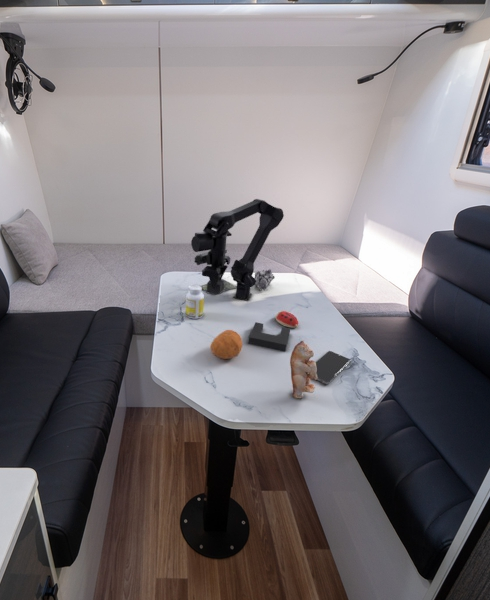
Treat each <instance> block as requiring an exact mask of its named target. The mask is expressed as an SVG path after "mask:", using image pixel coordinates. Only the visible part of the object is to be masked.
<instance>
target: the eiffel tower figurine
mask: <svg viewBox="0 0 490 600" xmlns="http://www.w3.org/2000/svg"><path fill="white" fill-rule="evenodd" d="M221 280H224V284H223V290H222V292H225V291H229V290H233V289H236V287H237V285H236V284H233V283H231V282H229V281H227V280H225V279H223V277H222V278H221ZM200 286H201V287H202V291H203V290H204V291H206V292H207V283H206V284H202V285H200ZM222 292H221V293H222ZM211 294H212V295H215V294H214V293H211Z"/></svg>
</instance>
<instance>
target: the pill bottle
mask: <svg viewBox="0 0 490 600" xmlns="http://www.w3.org/2000/svg"><path fill="white" fill-rule="evenodd" d="M201 286H202V285H199V284H191V285H189V286H188V292H187V293H186V295H185V315H186V317H187V318H189V319H194V320H195V319H196V320H197V319H200V318H202V317H203V316H204V302H205V301H204V300H205V295H204V293H203V292H202V291H203V289H202V287H201Z"/></svg>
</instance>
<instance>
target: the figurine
mask: <svg viewBox="0 0 490 600" xmlns="http://www.w3.org/2000/svg"><path fill="white" fill-rule="evenodd" d="M314 354H315V351H313V350H311V348H310V346H309V345H308V344H306V343H305V341H304V340H301V341H299V342H298V343H297V344H295V345H294V347H293V350H292V352H291V355H290V358H289V359H290V360H289V365H290V378H291V379H290V380H291V384H292V396H293V398H295V399H302V398H304V393H310V394H313V393H314V392H315V389H316V385H315V384H313V383H312V382H311V380H315V381H317V380H316V379H317V374H316V372H317V367H316V363H315V362H316V361H314V360H311V358H313V357H314V356H315V355H314Z"/></svg>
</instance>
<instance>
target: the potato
mask: <svg viewBox="0 0 490 600" xmlns="http://www.w3.org/2000/svg"><path fill="white" fill-rule="evenodd" d="M242 348H243V340H242V336H241V334H239V333H238V332H237V331H235V330H233V329H225V330H224V331H222V332H221V333H219V334H218V335H217V336H216V337H215V338H214V339H213V340H212V341H211V344H210V351H211V354H213V356H215V357H217V358H218V359H219V358H220V359H224V360H229V359H233V358H235V357H238V356H239V354H240V353H241V352H242Z"/></svg>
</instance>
